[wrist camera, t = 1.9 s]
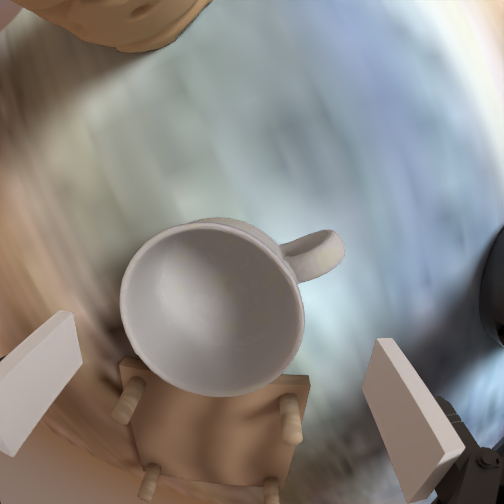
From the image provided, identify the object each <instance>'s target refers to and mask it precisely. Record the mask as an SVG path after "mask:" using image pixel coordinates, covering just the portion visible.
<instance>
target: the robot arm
mask: <svg viewBox="0 0 504 504" xmlns="http://www.w3.org/2000/svg"><path fill="white" fill-rule="evenodd" d="M480 316H481V321H482V324H483V326H484V329H485V331H486V332H487V333H488V335H489V336H490V337H492V338H493V339H494V340H495V341H496V342H497V343H498V344H500V345H501V346H502V347H504V229H503V230H502V232H501V233H500V235H499V237H498V238H497V240H496V242H495V244H494V246H493V248H492V251H491V253H490V255H489V258H488V261H487V264H486V267H485V270H484V274H483V279H482V284H481V290H480ZM82 364H83V361H82V357H81V352H80V347H79V343H78V337H77V332H76V327H75V321H74V315H73V312H68V311H63V310H59V311H58V312H57V313H55V314H54V315H53V316H52V317H51V318H49V319H48V320H47V321H46V322H45V323H44V324H42V325H41V326H40V327H39V328H38V329H36V330H35V331H34V332H33V333H32V334H31V335H30V336H28V337H27V338H26V339H25V340H24V341H23V342H22V343H20V344H19V345H18V346H17V347H16V348H15V349H14V350H13V351H11V352H10V353H9V354H8V355H7V356H4V357H2V358H0V451H2V452H4V453H6V454H8V455H9V456H11V457H14V456H15V454H16V453H17V451H18V450H19V449H20V447H21V446H22V444H23V443H24V441H25V440H26V439H27V437H28V436H29V434H30V433H31V432H32V430H33V429H34V427H35V426H36V424H37V423H38V422H39V420H40V419H41V418H42V416H43V415H44V414H45V412H46V411H47V410H48V408H49V407H50V405H51V404H52V403H53V401H54V400H55V399H56V397H57V396H58V395H59V393H60V392H61V391H62V390H63V388H64V387H65V386H66V384H67V383H68V382H69V380H70V379H71V378H72V377H73V375H74V374H75V373H76V371H77V370H78V369H79V368H80V366H81V365H82ZM361 389H362V391H363V393H364V396H365V398H366V401H367V403H368V405H369V408H370V410H371V412H372V415H373V417H374V420H375V422H376V425H377V427H378V429H379V432H380V434H381V437H382V439H383V442H384V444H385V447H386V449H387V452H388V454H389V457H390V459H391V462H392V465H393V467H394V470H395V472H396V475H397V478H398V480H399V483H400V485H401V488H402V491H403V493H404V496H405V499H406V502H407V504H408V503H412V502H416V501H420V500H424V499H427V498H428V496H429V495H430V494H431V493H432V492H433V490H434V489H435V491H436V493H437V495H438V496H437V497H436V499H435V500H434V501H433V502H432V503H431V504H504V436H503V438H502V439H501V440H500V441H499V442H498V443H497V444H496V445H495V446H494V447H493V448H492V449H490V448H485V447H481V448H480V447H479V445H478V444H477V442H476V441H475V439H474V438H473V436H472V435H471V433H470V432H469V430H468V429H467V427H466V426H465V424H464V423H463V422H461V418H460V417H459V415H458V414H456V411H455V410H454V408H453V407H452V405H451V404H450V403H449V402H448V401H446V400H445V399H444V398H442V397H441V396H438V397H433V396H432V394H431V393H430V391H429V390H428V388H427V387H426V385H425V384H424V382H423V381H422V380H421V378H420V377H419V375H418V374H417V372H416V371H415V369H414V368H413V366H412V365H411V364H410V362H409V361H408V359H407V358H406V357H405V355H404V354H403V352H402V351H401V349H400V348H399V347H398V345H397V344H396V342H395V341H394V340H393V338H376V342H375V345H374V349H373V353H372V356H371V359H370V363H369V366H368V369H367V373H366V376H365V379H364V382H363V385H362V388H361ZM0 504H1V503H0Z"/></svg>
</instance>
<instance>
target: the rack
mask: <svg viewBox="0 0 504 504" xmlns="http://www.w3.org/2000/svg"><path fill="white" fill-rule="evenodd" d="M119 369H120V375H121V380H122V385H123V393H122V394H121V396H120V398H119V400H118V401H117V403H116V405H115V407H114V409H113V410H112V412H111V418H112V419H113V420H114V421H115V422H116V423H118V424H120V425H127V424H128V423H129V421H130V423H131V427H132V431H133V435H134V439H135V443H136V447H137V450H138V454H139V458H140V461H141V464H142V468H143V471H145V472H146V473H145V476H144V478H143V481H142V485H141V488H140V490H139V493H138V497H139V498H140V499H141V500H144V501H148V502H149V501H152V498H153V495H154V491H155V488H156V485H157V481H158V478H159V475H164V476H170V477H175V478H181V479H187V480H194V481H201V482H209V483H218V484H228V485H240V486H258V487H264V504H279V487H284V486H285V482H286V479H287V476H288V472H289V469H290V465H291V461H292V458H293V454H294V451H295V447H296V445H297V444H299V443H301V442H302V440H303V436H302V428H301V423H302V419H303V415H304V411H305V407H306V403H307V398H308V394H309V390H310V381H309V376H308V375H280V376H278V377H277V379H275V380H273V381H271V382H270V383H269V384H266V385H265V386H264V387H263V388H260V389H258V390H256V391H254V392H251V393H247V394H243V395H239V396H233V397H209V396H203V395H199V394H194V393H191V392H187V391H185V390H182V389H179V388H178V387H176V386H174V385H171V384H170V383H168V382H166V381H164V380H163V379H162V378H161V377H159V376H158V375H157V374H155V373H154V372H153V371H151V370H150V368H149V367H148V366H147V365H146V364H145V363H144V362H143V361H142V360H141V359H135V358H129V357H124V358H123V360H122V361H121V363H120V364H119Z"/></svg>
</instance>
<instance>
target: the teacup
mask: <svg viewBox="0 0 504 504" xmlns="http://www.w3.org/2000/svg"><path fill="white" fill-rule="evenodd" d="M344 256H345V246H344V243H343V241H342V239H341V238H340V236H339V234H338V233H336V232H335V231H333V230H322V231H318V232H315V233H312V234H309V235H306V236H304V237H301V238H299V239H296V240H294V241H292V242H289V243H285V244H281V245H277V244H276V243H275V242H274V241H273V240H272V239H271V238H270V237H269V236H268V235H267V234H265V233H264V232H263V231H261V230H260V229H258V228H256V227H255V226H253V225H251V224H248V223H246V222H243V221H240V220H236V219H231V218H222V217H216V218H206V219H200V220H196V221H193V222H190V223H187V224H182V225H178V226H175V227H172V228H170V229H167V230H165V231H163V232H161V233H159V234H157V235H155V236H154V237H152V238H151V239H150V240H148V241H147V242H146V243H145V244H144V245H143V246H142V247H141V248H140V249H139V250H138V251H137V252H136V254H135V255H134V256H133V258H132V259H131V261H130V263H129V265H128V267H127V268H126V270H125V273H124V276H123V279H122V283H121V288H120V298H119V304H120V312H121V318H122V322H123V326H124V329H125V333H126V335H127V337H128V339H129V341H130V343H131V345H132V347H133V349H134V351H135V353H136V354H137V355H138V356H139V357H140V358H141V360H142V361H143V362H144V363H145V364H146V365H147V366H148V367H149V368H150V370H151V371H153V372H154V373H155V374H157V375H158V376H159V377H161V378H162V379H163V380H164V381H166V382H168V383H170V384H171V385H174V386H176V387H178V388H179V389H182V390H185V391H187V392H191V393H194V394H199V395H203V396H209V397H233V396H239V395H243V394H247V393H251V392H254V391H256V390H258V389H260V388H263V387H264V386H265V385H266V384H269V383H270V382H271V381H273V380H275V379H277V377H278V376H280V375H281V374H282V373H283V372H284V371H285V370H286V369H287V368H288V367H289V365H290V364H291V362H292V361H293V359H294V357H295V355H296V354H297V352H298V350H299V347H300V345H301V342H302V337H303V333H304V326H305V316H304V306H303V302H302V298H301V294H300V291H299V288H298V286H297V285H298V284H299V283H302V282H306V281H309V280H312V279H315V278H318V277H320V276H322V275H324V274H326V273H328V272H329V271H331V270H332V269H334V268H335V267H336V266H337V265H338V264H339V263H340V262H341V261H342V259H343V258H344Z"/></svg>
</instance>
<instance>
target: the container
mask: <svg viewBox="0 0 504 504" xmlns="http://www.w3.org/2000/svg"><path fill="white" fill-rule="evenodd" d="M11 1H13V2H15V3H16V4H18V5H20V6H22V7H23V8H26V9H27V10H30V11H32V12H34V13H35V14H37V15H38V16H40V17H41V18H43V19H45V20H47V21H50V22H52V23H54V24H56V25H58V26H60V27H62V28H64V29H66V30H68V31H69V32H71V33H72V34H73V35H75V36H76V37H78V38H80V39H81V40H83V41H86V42H89V43H94V44H98V45H104V46H111V47H115V48H116V49H117V50H118V51H119V52H127V53H135V52H145V51H148V50H154V49H160V48H162V47H164V46H166V45H168V44H170V43H171V42H174V41H175V40H176V39H177V36H178V35H179V34H180V33H181V32H182V31H183V30H184V29H185V28H186V27H187V26H188V25H189V24H190V23H191V22H192V21H193V20H194V19H195V18H196V17H197V16H198V15H199V13H200V12H201V11H202V10H203V9H204V7H205V6H206V5H207V4H209V3H211V2H212V1H213V0H11Z"/></svg>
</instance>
